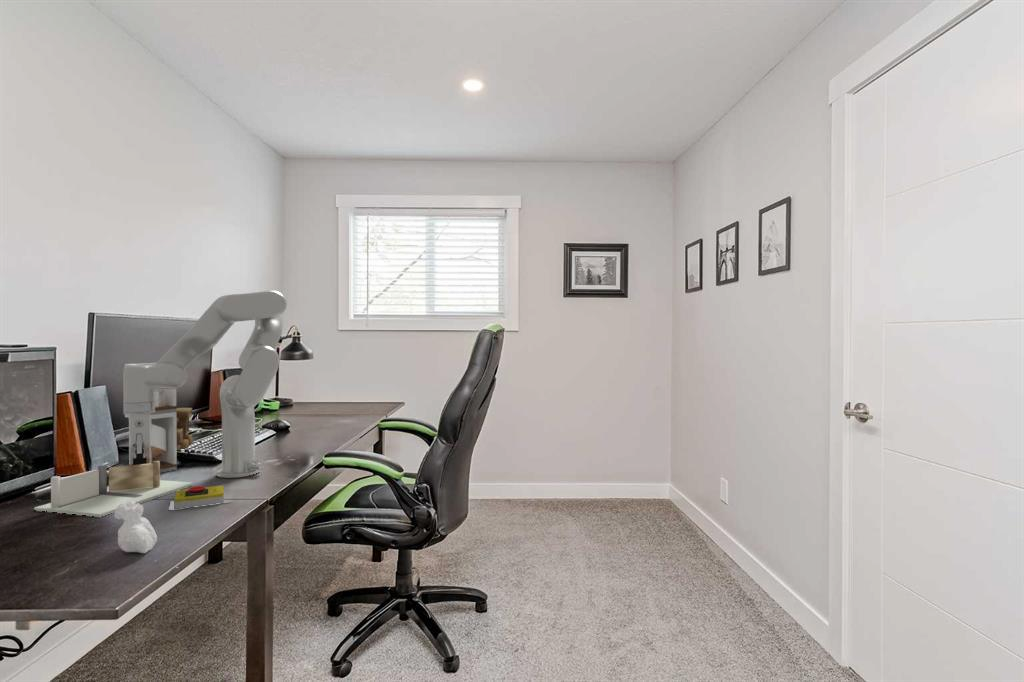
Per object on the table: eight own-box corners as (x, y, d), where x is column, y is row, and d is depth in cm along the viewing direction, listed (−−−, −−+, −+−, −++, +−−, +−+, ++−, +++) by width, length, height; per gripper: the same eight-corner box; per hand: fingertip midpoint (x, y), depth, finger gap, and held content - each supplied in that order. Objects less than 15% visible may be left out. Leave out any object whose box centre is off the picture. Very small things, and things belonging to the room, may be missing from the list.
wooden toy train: (160, 452, 208) (160, 408, 207) (195, 449, 212) (194, 406, 212) (149, 464, 189) (149, 415, 189) (187, 461, 194) (187, 414, 194)
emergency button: (169, 486, 148) (232, 479, 155) (169, 503, 148) (232, 495, 155) (167, 495, 140) (233, 488, 147) (167, 513, 140) (233, 504, 147)
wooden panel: (108, 492, 152) (108, 466, 152) (109, 490, 154) (109, 465, 154) (159, 486, 158) (159, 461, 158) (160, 484, 160) (159, 460, 159)
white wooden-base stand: (125, 471, 179) (124, 364, 178) (161, 465, 188) (160, 362, 187) (140, 476, 172) (139, 365, 172) (176, 470, 181) (176, 364, 181)
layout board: (194, 485, 163) (193, 482, 163) (100, 517, 135) (100, 513, 135) (136, 480, 168) (136, 477, 168) (34, 510, 140) (34, 507, 140)
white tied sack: (138, 550, 121) (98, 514, 117) (170, 524, 123) (132, 489, 120) (133, 570, 110) (90, 532, 107) (168, 541, 113) (127, 504, 110)
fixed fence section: (103, 491, 153) (102, 464, 153) (108, 492, 153) (108, 464, 153) (48, 508, 139) (48, 477, 139) (55, 508, 139) (54, 478, 139)
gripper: (154, 410, 154) (155, 475, 154) (155, 404, 166) (155, 464, 167) (122, 412, 150) (122, 479, 150) (124, 405, 162) (125, 467, 163)
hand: (139, 471), depth 158 cm, fingers closed
